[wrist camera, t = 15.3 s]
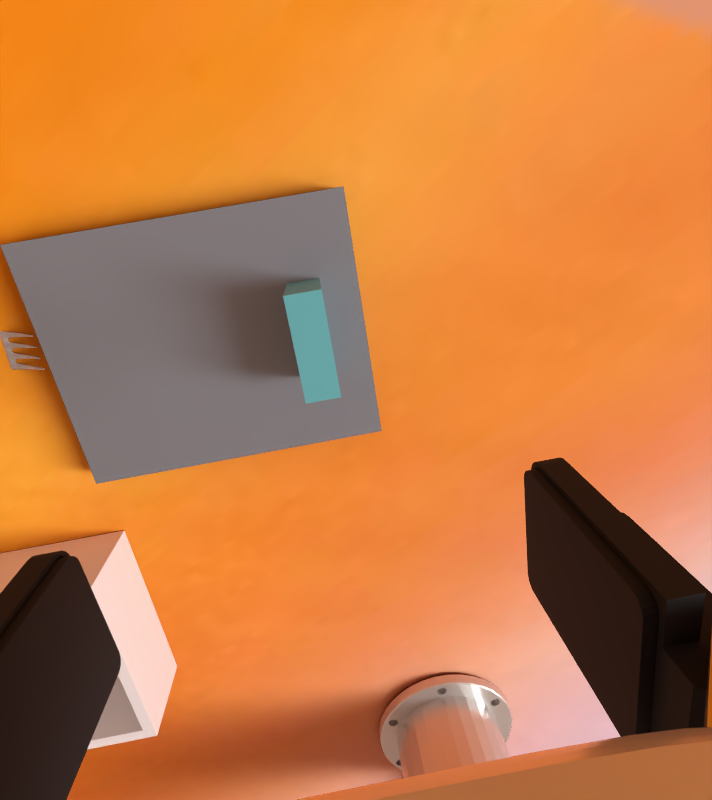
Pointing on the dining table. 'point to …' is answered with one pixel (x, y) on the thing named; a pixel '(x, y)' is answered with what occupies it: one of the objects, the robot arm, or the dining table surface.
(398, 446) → the dining table surface
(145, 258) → the lid
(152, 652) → the tub
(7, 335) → the fork
